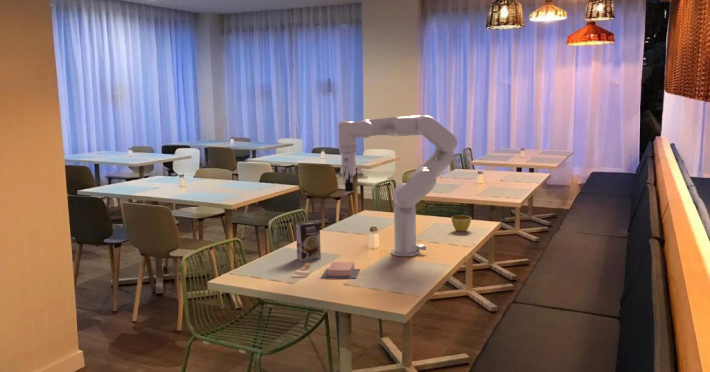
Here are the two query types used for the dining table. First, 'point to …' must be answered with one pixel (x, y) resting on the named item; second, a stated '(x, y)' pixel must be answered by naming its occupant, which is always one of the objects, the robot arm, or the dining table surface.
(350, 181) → the robot arm
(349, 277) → the charcoal mat
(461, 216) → the flower pot
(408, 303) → the dining table surface
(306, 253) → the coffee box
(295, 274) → the beech turner
